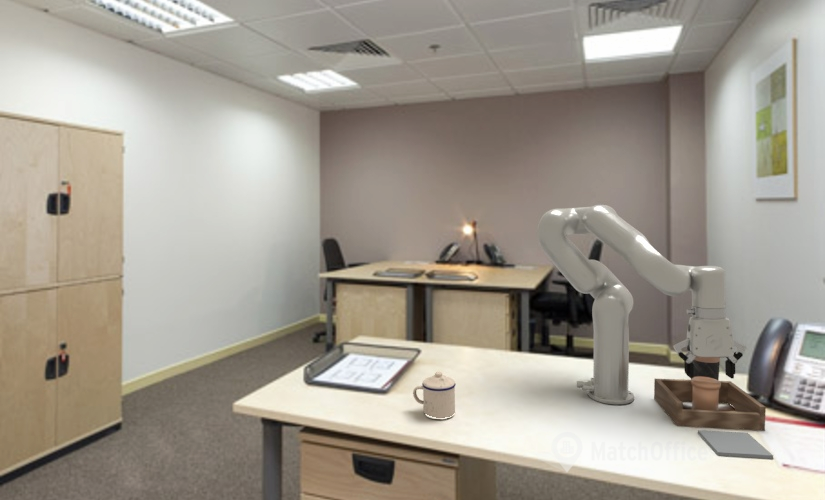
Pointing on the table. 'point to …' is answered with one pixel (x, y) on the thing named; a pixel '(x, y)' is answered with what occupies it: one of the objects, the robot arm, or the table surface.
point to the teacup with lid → (437, 396)
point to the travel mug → (706, 367)
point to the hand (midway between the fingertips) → (709, 376)
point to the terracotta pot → (705, 393)
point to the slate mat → (734, 444)
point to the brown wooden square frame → (681, 390)
